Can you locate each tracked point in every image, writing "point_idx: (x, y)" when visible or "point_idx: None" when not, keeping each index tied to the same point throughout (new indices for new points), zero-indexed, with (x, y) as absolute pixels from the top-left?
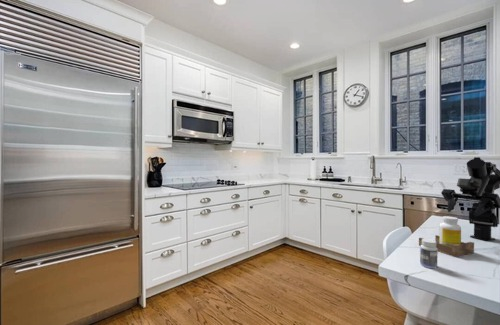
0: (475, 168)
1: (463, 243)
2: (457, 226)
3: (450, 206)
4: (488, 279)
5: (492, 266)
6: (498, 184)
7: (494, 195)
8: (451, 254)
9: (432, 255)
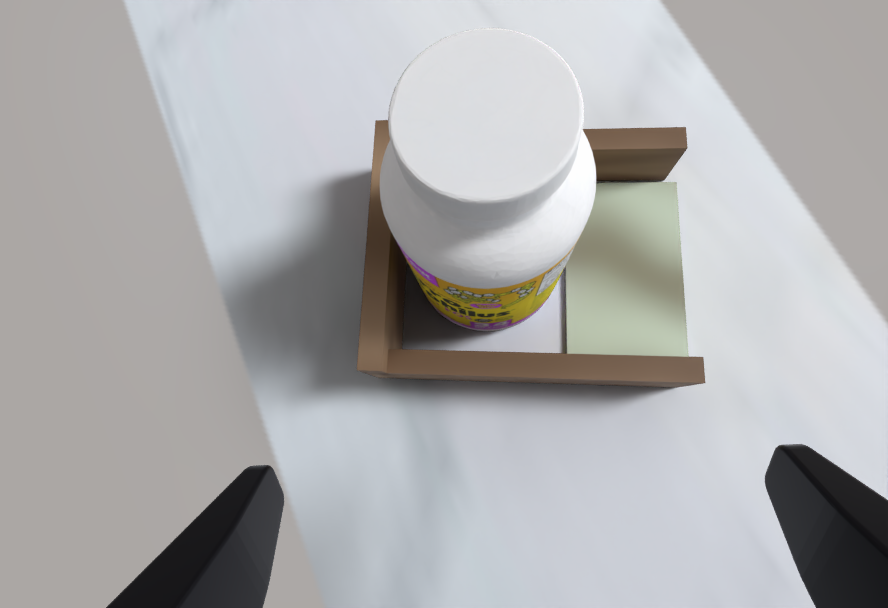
0: None
1: (382, 251)
2: (389, 154)
3: (874, 568)
4: (156, 19)
5: (209, 215)
6: None
7: None
8: None
9: None
